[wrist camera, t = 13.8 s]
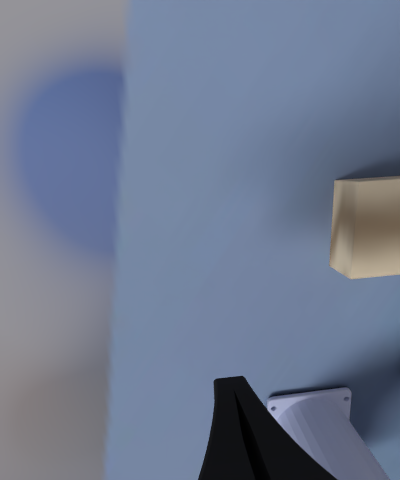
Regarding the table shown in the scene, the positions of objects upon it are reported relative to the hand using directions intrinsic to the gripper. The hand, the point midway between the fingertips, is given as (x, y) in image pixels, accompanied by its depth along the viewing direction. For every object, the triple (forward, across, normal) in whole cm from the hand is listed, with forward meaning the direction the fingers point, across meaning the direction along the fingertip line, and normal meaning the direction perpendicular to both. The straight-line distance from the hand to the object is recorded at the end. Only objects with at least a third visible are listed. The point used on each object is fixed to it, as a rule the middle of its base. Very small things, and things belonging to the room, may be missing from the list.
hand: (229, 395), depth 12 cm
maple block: (+11, -14, -5) cm, 18 cm away
